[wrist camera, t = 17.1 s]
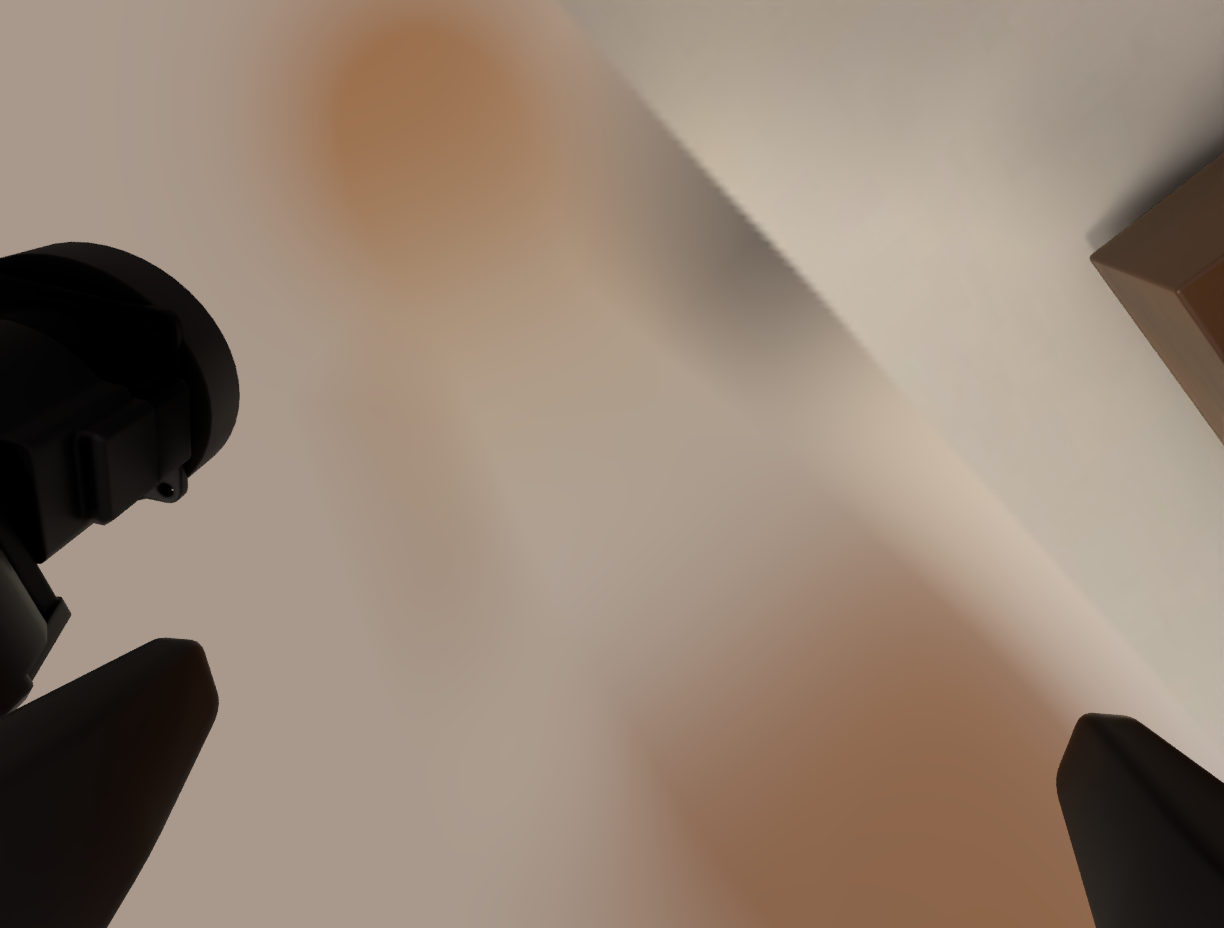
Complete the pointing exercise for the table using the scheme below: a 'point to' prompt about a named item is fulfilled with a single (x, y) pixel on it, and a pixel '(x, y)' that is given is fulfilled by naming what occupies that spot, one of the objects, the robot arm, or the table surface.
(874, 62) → the table surface
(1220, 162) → the brown wooden slab
